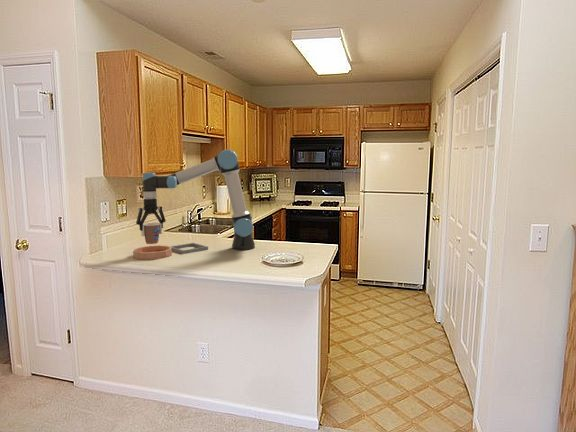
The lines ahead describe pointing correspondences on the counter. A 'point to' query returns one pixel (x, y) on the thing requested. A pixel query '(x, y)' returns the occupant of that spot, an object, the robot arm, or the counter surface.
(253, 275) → the counter surface
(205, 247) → the tray
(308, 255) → the counter surface
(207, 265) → the counter surface
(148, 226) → the coffee cup
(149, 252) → the terracotta bowl
